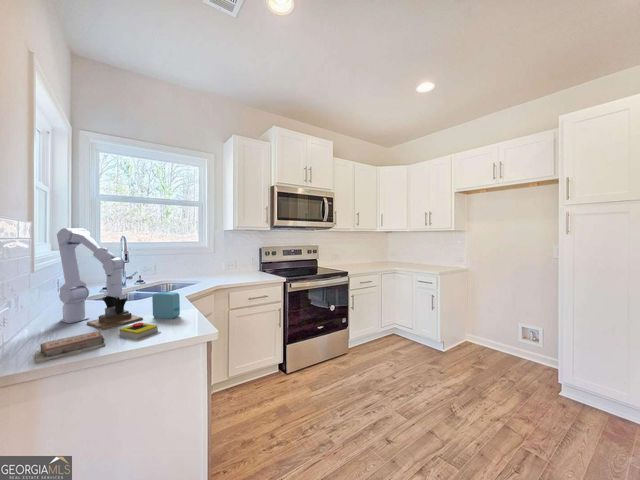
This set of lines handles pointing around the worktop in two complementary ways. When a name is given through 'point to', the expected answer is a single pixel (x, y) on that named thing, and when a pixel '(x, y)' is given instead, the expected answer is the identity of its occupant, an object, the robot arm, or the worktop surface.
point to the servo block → (112, 312)
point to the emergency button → (139, 331)
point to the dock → (114, 321)
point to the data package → (166, 305)
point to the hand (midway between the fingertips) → (115, 312)
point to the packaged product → (69, 346)
